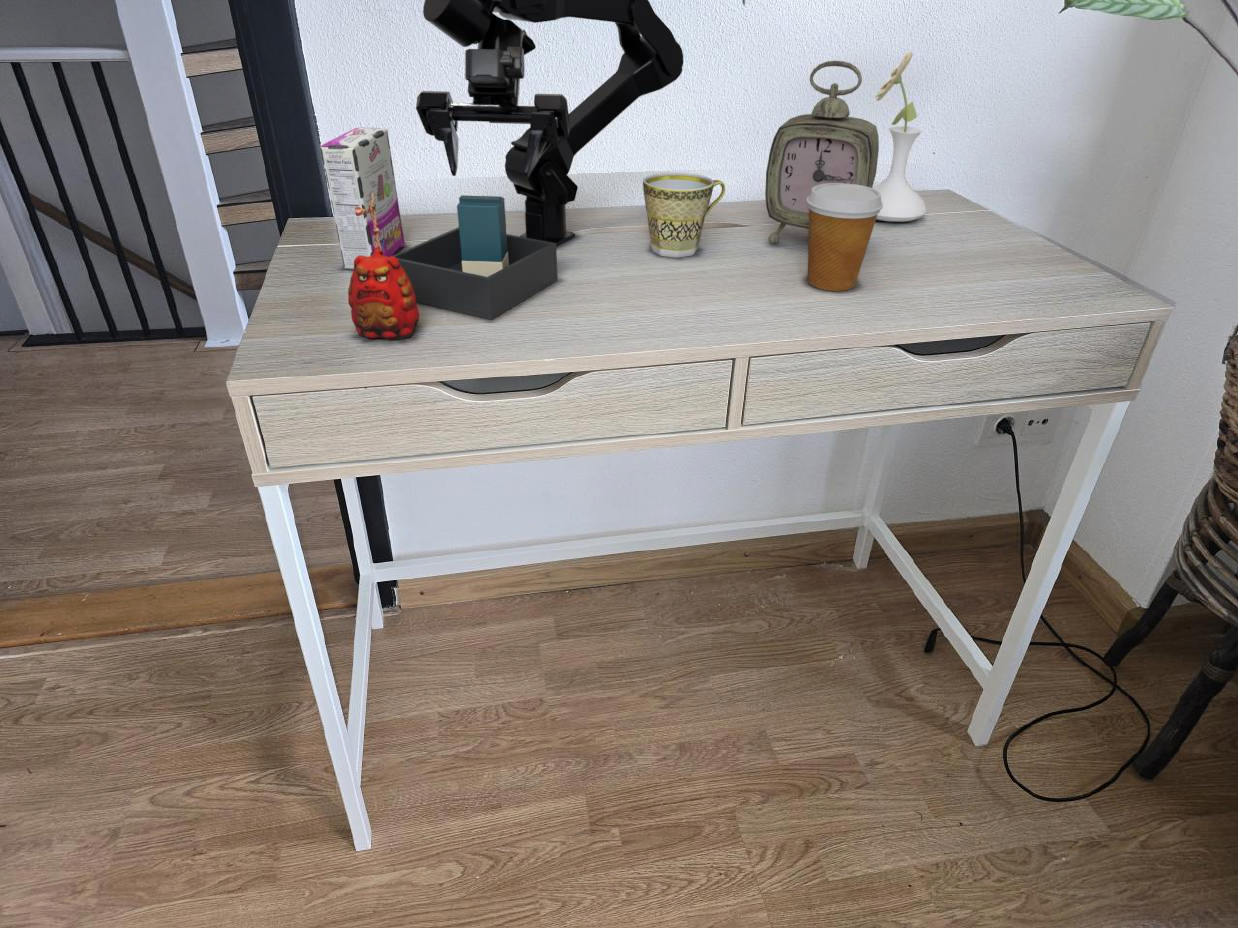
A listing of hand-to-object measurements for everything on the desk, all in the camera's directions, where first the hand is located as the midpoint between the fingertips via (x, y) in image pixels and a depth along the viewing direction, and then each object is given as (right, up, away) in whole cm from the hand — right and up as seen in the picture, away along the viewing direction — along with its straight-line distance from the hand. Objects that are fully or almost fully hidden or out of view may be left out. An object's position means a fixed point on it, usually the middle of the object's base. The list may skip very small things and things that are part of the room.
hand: (489, 175), depth 102 cm
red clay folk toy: (-11, -21, -7) cm, 25 cm away
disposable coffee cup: (+45, -12, +8) cm, 47 cm away
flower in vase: (+60, +4, +33) cm, 69 cm away
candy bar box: (-19, -7, +14) cm, 24 cm away
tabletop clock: (+45, -3, +22) cm, 50 cm away
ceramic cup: (+26, -5, +19) cm, 32 cm away
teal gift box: (-1, -14, +3) cm, 14 cm away
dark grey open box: (-2, -13, +4) cm, 14 cm away
